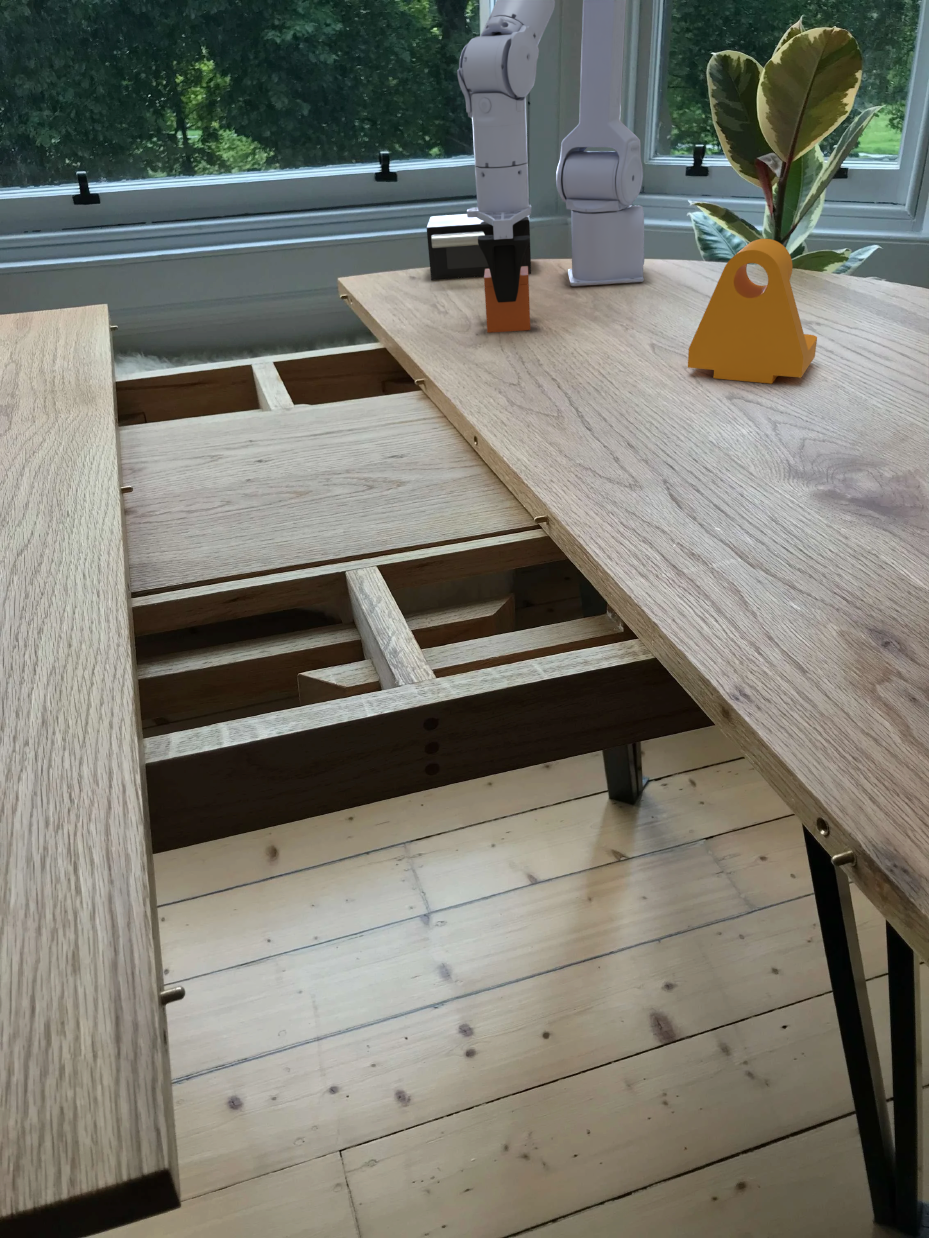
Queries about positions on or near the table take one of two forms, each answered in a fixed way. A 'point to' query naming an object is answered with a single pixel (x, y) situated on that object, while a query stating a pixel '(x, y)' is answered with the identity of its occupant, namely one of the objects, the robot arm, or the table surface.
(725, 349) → the bracket
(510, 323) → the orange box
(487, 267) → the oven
